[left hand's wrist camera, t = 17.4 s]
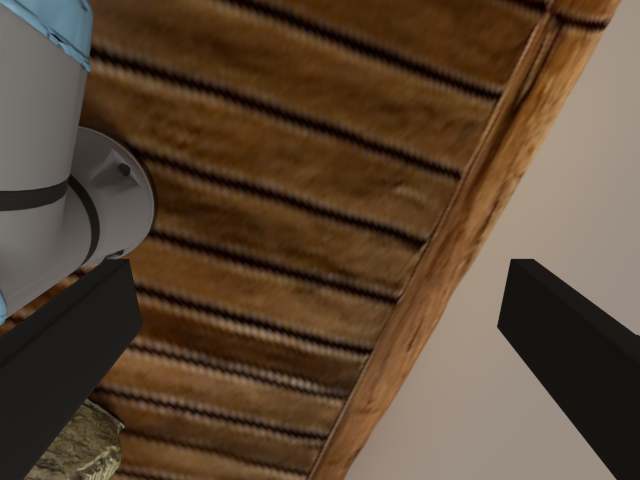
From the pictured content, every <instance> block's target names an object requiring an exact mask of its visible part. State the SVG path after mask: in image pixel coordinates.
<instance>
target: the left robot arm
mask: <svg viewBox="0 0 640 480" xmlns="http://www.w3.org/2000/svg"><path fill="white" fill-rule="evenodd" d="M92 28H93V12H92V8H91V5H90V2H89V0H0V325H2V324H3V322H5V319H6V318H8V317H9V316H11V315H12V314H13V313H15V312H16V311H18V310H19V309H20V308H22V307H23V306H25V305H26V304H28V303H29V302H30V301H32V300H33V299H35V298H36V297H38V296H39V295H41V294H42V293H43V292H45V291H46V290H48V289H49V288H51V287H52V286H53V285H55V284H56V283H58V282H59V281H61V280H62V279H63V278H65V277H66V276H68V275H69V274H71V273H72V272H73V271H75V270H76V269H78V268H79V267H82V266H87V265H92V264H96V265H98V263H101V264H99V265H98V266H96V267H95V268H94V269H92V270H91V271H90V272H88V273H87V274H86V275H84V276H83V277H82V278H80V279H79V280H78V281H76V282H75V283H74V284H72V285H71V286H69V287H68V288H67V289H65V290H64V291H63V292H61V293H60V294H59V295H57V296H56V297H55V298H53V299H52V300H51V301H49V302H48V303H46V304H45V305H44V306H42V307H41V308H40V309H38V310H37V311H36V312H34V313H33V314H32V315H30V316H29V317H28V318H26V319H25V320H23V321H22V322H21V323H19V324H18V325H17V326H15V327H14V328H13V329H11V330H10V331H9V332H7V333H6V334H5V335H3V336H2V337H0V480H23V479H24V478H25V477H26V476H27V474H28V473H29V472H30V470H31V469H32V468H33V467H34V465H35V464H36V463H37V462H38V460H39V459H40V458H41V456H42V455H43V454H44V453H45V451H46V450H47V449H48V448H49V446H50V445H51V444H52V442H53V441H54V440H55V439H56V437H57V436H58V435H59V433H60V432H61V431H62V430H63V428H64V427H65V426H66V425H67V423H68V422H69V421H70V419H71V418H72V417H73V416H74V414H75V413H76V412H77V411H78V409H79V408H80V407H81V405H82V404H83V403H84V402H85V400H86V399H87V398H88V396H89V395H90V394H91V393H92V391H93V390H94V389H95V388H96V386H97V385H98V384H99V382H100V381H101V380H102V379H103V377H104V376H105V375H106V374H107V372H108V371H109V370H110V368H111V367H112V366H113V365H114V363H115V362H116V361H117V359H118V358H119V357H120V356H121V354H122V353H123V352H124V351H125V349H126V348H127V347H128V345H129V344H130V343H131V342H132V340H133V339H134V338H135V337H136V335H137V334H138V333H139V331H140V330H141V329H142V328H143V325H142V320H141V315H140V310H139V305H138V301H137V296H136V291H135V286H134V281H133V276H132V271H131V266H130V261H129V259H117V258H120V257H122V256H124V255H126V254H128V253H130V252H131V251H133V250H134V249H135V248H136V247H138V246H139V245H140V244H141V243H142V242H143V241H144V240H145V239H146V238H147V237H148V235H149V234H150V232H151V231H152V229H153V227H154V224H155V221H156V217H157V211H158V199H157V193H156V189H155V185H154V182H153V180H152V177H151V175H150V173H149V171H148V170H147V168H146V166H145V165H144V163H143V162H142V160H141V159H140V158H139V157H138V155H137V154H136V153H135V152H134V151H133V150H132V149H131V148H129V147H128V146H127V145H126V144H125V143H123V142H122V141H121V140H119V139H118V138H116V137H114V136H113V135H111V134H109V133H107V132H104V131H102V130H99V129H96V128H93V127H89V126H83V125H79V120H80V114H81V109H82V103H83V97H84V92H85V86H86V81H87V75H88V72H91V69H92V67H91V63H90V62H89V55H90V46H91V37H92ZM92 266H94V265H92ZM88 267H89V266H88ZM497 327H498V329H499V330H500V331H501V333H502V334H503V335H504V337H505V338H506V339H507V340H508V342H509V343H510V344H511V345H512V347H513V348H514V349H515V351H516V352H517V353H518V354H519V356H520V357H521V358H522V359H523V361H524V362H525V363H526V365H527V366H528V367H529V368H530V370H531V371H532V372H533V374H534V375H535V376H536V377H537V379H538V380H539V381H540V382H541V384H542V385H543V386H544V388H545V389H546V390H547V391H548V393H549V394H550V395H551V396H552V398H553V399H554V400H555V402H556V403H557V404H558V405H559V407H560V408H561V409H562V411H563V412H564V413H565V414H566V416H567V417H568V418H569V419H570V421H571V422H572V423H573V425H574V426H575V427H576V428H577V430H578V431H579V432H580V433H581V435H582V436H583V437H584V439H585V440H586V441H587V442H588V444H589V445H590V446H591V447H592V449H593V450H594V451H595V453H596V454H597V455H598V456H599V458H600V459H601V460H602V462H603V463H604V464H605V465H606V467H607V468H608V469H609V470H610V472H611V473H612V474H613V476H614V477H615V478H616V479H617V480H640V336H639V335H635V334H634V333H633V332H631V331H630V330H629V329H627V328H626V327H625V326H623V325H622V324H621V323H619V322H618V321H616V320H615V319H614V318H612V317H611V316H610V315H608V314H607V313H606V312H604V311H603V310H602V309H600V308H599V307H598V306H596V305H595V304H593V303H592V302H591V301H589V300H588V299H587V298H585V297H584V296H583V295H581V294H580V293H579V292H577V291H576V290H575V289H573V288H572V287H571V286H569V285H568V284H566V283H565V282H564V281H562V280H561V279H560V278H558V277H557V276H556V275H554V274H553V273H552V272H550V271H549V270H548V269H546V268H545V267H544V266H542V265H541V264H539V263H538V262H537V261H535V260H534V259H511V261H510V266H509V271H508V276H507V281H506V286H505V291H504V296H503V301H502V305H501V310H500V315H499V320H498V325H497Z"/></svg>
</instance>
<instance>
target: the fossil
mask: <svg viewBox="0 0 640 480" xmlns="http://www.w3.org/2000/svg"><path fill="white" fill-rule="evenodd" d="M123 428H124V425H123V424H122V423H121V422H120V421H119V420H118V419H116V418H115V417H113V416H112V415H111V414H109V413H108V412H107V411H105V410H104V409H102V408H101V407H100V406H98V405H97V404H94V403H92V402H91V401H90V400H89V399H86V400H85V402H84V403H83V404H82V405H81V407H80V408H79V409H78V411H77V412H76V413H75V414H74V416H73V417H72V418H71V419H70V421H69V422H68V423H67V425H66V426H65V427H64V428H63V430H62V431H61V432H60V433H59V435H58V436H57V437H56V439H55V440H54V441H53V442H52V444H51V445H50V446H49V448H48V449H47V450H46V451H45V453H44V454H43V455H42V456H41V458H40V459H39V460H38V462H37V463H36V464H35V465H34V467H33V468H32V469H31V470H30V472H29V473H28V474H27V476H26V477H25V478H24V479H23V480H108V479H109V478H110V477H111V475H112V474H113V473H114V472H115V471H116V469H117V468H118V466H119V465H120V461H121V455H122V454H121V443H120V440H119V437H118V436H119V434H120V431H121V430H122V429H123Z"/></svg>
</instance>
